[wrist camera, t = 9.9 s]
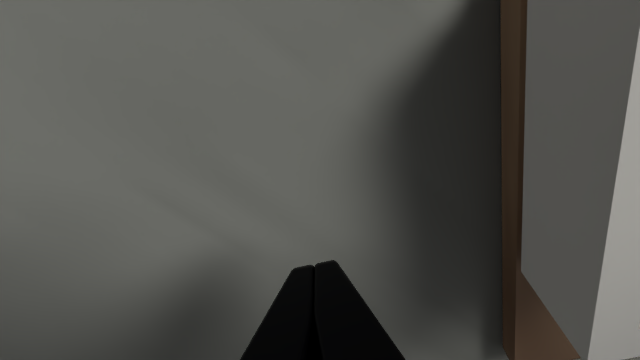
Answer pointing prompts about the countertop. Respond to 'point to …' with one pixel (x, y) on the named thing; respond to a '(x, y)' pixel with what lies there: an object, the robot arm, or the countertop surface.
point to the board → (520, 208)
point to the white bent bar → (584, 171)
